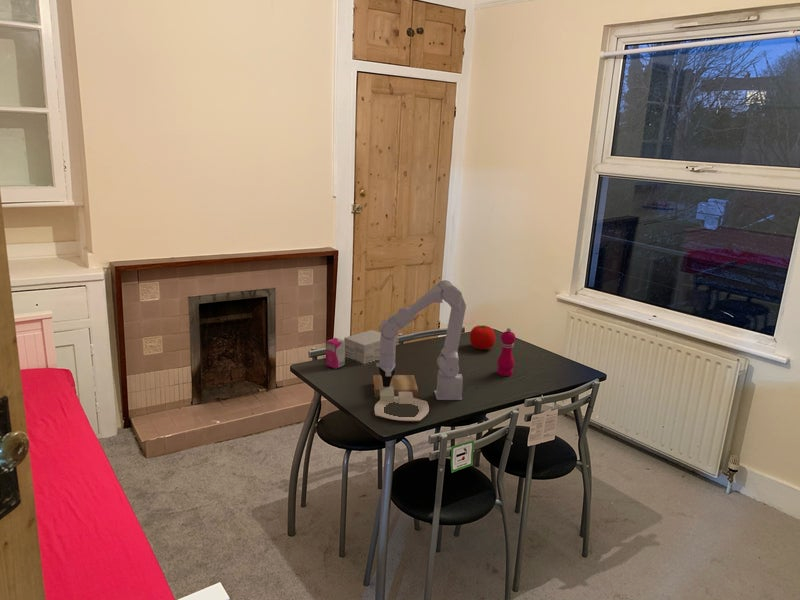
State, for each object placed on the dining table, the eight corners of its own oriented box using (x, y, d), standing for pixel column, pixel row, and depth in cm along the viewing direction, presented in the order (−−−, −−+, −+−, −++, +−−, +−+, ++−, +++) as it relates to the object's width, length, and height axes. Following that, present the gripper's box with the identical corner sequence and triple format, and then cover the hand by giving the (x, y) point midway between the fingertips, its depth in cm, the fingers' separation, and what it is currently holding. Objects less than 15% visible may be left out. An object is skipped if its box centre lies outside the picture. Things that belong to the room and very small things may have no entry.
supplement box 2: (370, 348, 274) (371, 329, 272) (391, 356, 266) (392, 336, 263) (343, 357, 262) (343, 336, 260) (363, 365, 254) (364, 344, 251)
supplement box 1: (335, 362, 255) (335, 337, 252) (345, 366, 251) (345, 340, 248) (325, 366, 251) (325, 340, 248) (335, 369, 247) (335, 343, 244)
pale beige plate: (424, 428, 202) (424, 423, 201) (368, 420, 205) (368, 415, 204) (432, 404, 220) (432, 399, 219) (381, 398, 223) (381, 393, 223)
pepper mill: (493, 374, 250) (497, 328, 245) (499, 368, 256) (503, 324, 251) (510, 377, 247) (514, 331, 241) (515, 372, 253) (520, 327, 248)
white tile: (411, 397, 220) (412, 391, 219) (412, 403, 215) (413, 397, 215) (398, 397, 220) (398, 391, 219) (399, 403, 215) (399, 397, 214)
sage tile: (392, 391, 221) (393, 386, 220) (393, 400, 217) (394, 395, 216) (379, 391, 221) (379, 386, 219) (380, 400, 216) (380, 395, 215)
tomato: (490, 343, 288) (492, 322, 285) (496, 353, 275) (498, 330, 272) (466, 343, 287) (468, 321, 284) (471, 352, 274) (473, 330, 271)
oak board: (413, 383, 237) (413, 375, 236) (417, 398, 223) (418, 389, 222) (373, 383, 235) (373, 375, 234) (374, 398, 222) (375, 389, 221)
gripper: (375, 345, 224) (374, 379, 227) (377, 359, 210) (376, 395, 213) (394, 345, 224) (392, 379, 228) (397, 359, 210) (396, 395, 214)
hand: (386, 387), depth 221 cm, fingers closed
